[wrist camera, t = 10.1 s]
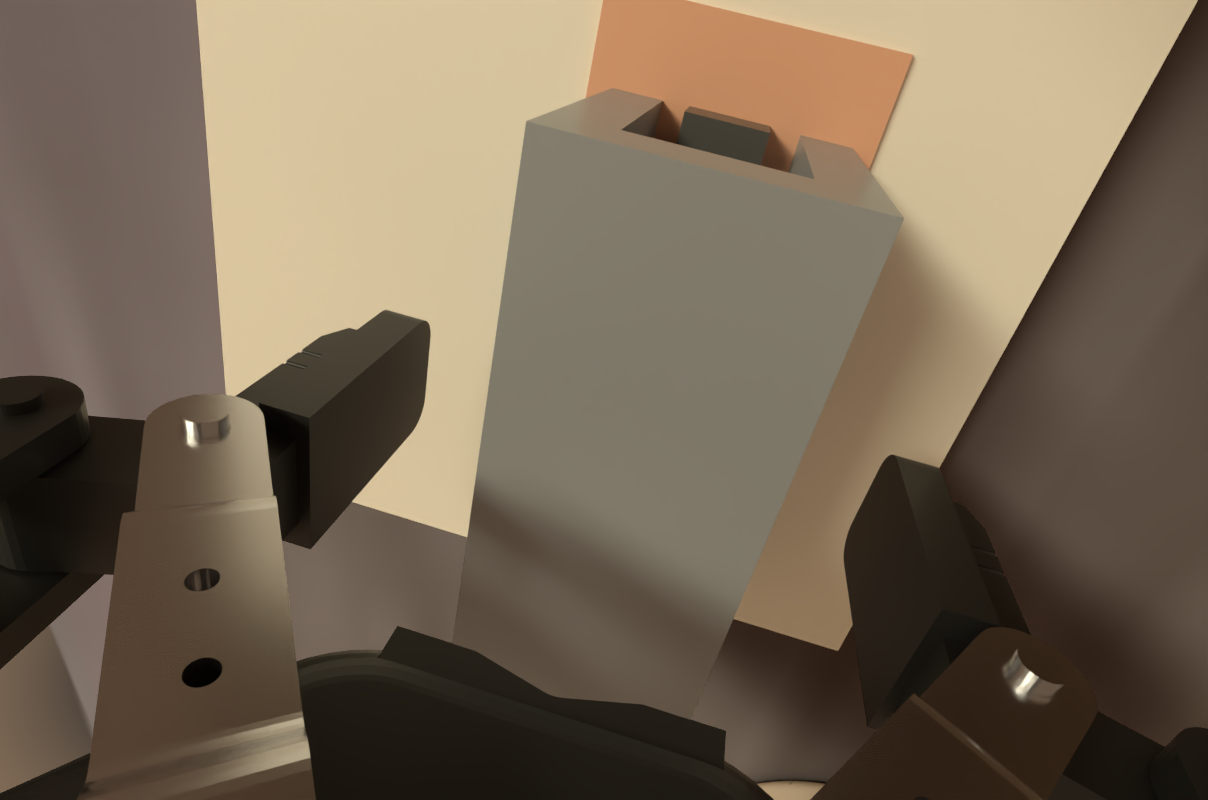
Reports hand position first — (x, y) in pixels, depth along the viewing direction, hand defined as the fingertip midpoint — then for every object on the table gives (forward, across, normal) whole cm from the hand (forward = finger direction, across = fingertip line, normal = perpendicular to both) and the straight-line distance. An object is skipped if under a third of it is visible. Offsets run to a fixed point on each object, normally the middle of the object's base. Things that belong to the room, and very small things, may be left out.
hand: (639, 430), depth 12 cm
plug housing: (+3, 0, 0) cm, 3 cm away
